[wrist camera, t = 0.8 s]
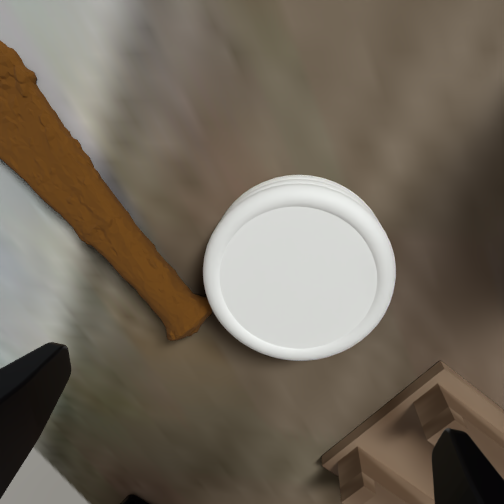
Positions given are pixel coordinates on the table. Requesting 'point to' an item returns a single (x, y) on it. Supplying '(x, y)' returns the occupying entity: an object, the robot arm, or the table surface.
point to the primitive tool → (86, 197)
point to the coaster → (299, 268)
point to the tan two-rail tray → (414, 440)
